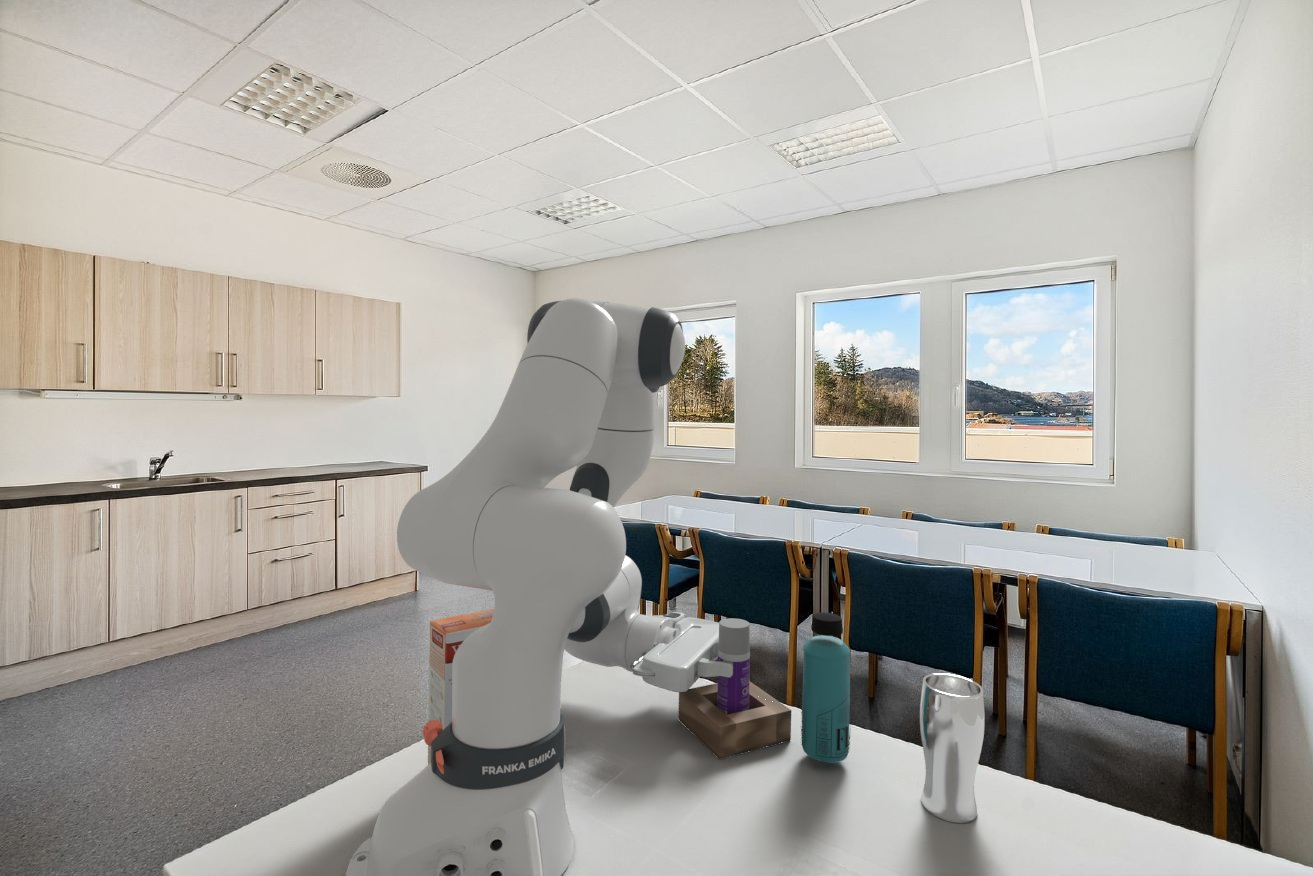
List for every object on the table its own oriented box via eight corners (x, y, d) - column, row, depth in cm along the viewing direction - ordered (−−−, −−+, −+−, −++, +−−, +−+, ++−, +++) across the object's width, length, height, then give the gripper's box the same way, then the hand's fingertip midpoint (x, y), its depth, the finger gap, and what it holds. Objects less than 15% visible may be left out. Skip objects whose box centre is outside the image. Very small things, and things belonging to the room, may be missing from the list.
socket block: (719, 759, 83) (720, 727, 83) (678, 719, 94) (678, 691, 94) (790, 741, 88) (791, 710, 88) (744, 705, 99) (744, 677, 99)
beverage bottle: (839, 780, 79) (843, 627, 78) (791, 762, 83) (794, 616, 82) (856, 758, 84) (860, 614, 83) (810, 742, 88) (814, 604, 87)
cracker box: (444, 808, 72) (444, 632, 71) (426, 784, 77) (426, 619, 76) (549, 767, 81) (550, 610, 80) (527, 747, 86) (529, 599, 85)
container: (748, 732, 88) (749, 629, 88) (715, 729, 89) (717, 627, 89) (749, 717, 93) (750, 619, 92) (718, 714, 94) (719, 616, 93)
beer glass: (920, 819, 71) (924, 692, 71) (914, 785, 78) (917, 669, 78) (987, 831, 69) (991, 701, 69) (974, 795, 76) (978, 676, 76)
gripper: (624, 648, 87) (717, 667, 81) (679, 608, 105) (758, 621, 99) (623, 692, 87) (716, 714, 81) (678, 645, 105) (757, 659, 100)
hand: (739, 662), depth 90 cm, fingers closed on container, 5 cm apart
